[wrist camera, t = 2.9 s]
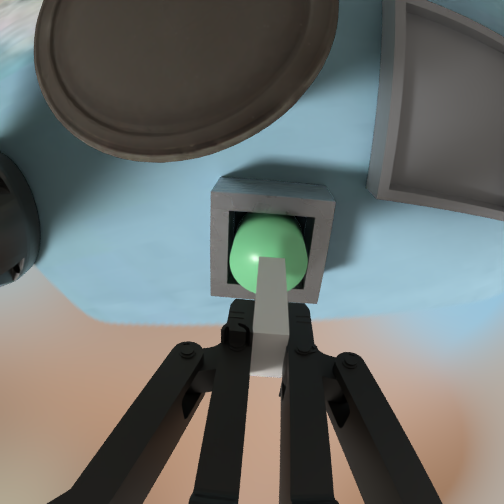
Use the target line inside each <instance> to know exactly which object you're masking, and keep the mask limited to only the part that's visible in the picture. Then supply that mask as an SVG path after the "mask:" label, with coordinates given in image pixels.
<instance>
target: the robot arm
mask: <svg viewBox="0 0 504 504" xmlns="http://www.w3.org/2000/svg"><path fill="white" fill-rule="evenodd" d="M39 246H40V225H39V218H38V213H37V209H36V205H35V202H34V199H33V196H32V193H31V191H30V188H29V186H28V184H27V182H26V180H25V178H24V176H23V175H22V173H21V172H20V170H19V169H18V167H17V166H16V165H15V164H14V163H13V162H12V161H11V160H10V159H9V158H8V157H7V156H6V155H4V154H3V153H1V152H0V287H1V286H4V285H7V284H9V283H12V282H14V281H16V280H18V279H19V278H20V277H21V276H22V275H23V274H25V272H27V271H28V270H29V269H30V268H31V267H32V266H33V264H34V262H35V261H36V258H37V255H38V252H39ZM310 317H311V316H310V310H309V308H308V307H307V306H306V305H305V303H291V302H288V300H287V283H286V267H285V258H273V257H260V256H259V264H258V275H257V286H256V298H255V300H244V299H235V300H234V301H233V302H232V304H231V305H230V310H229V315H228V321H227V323H226V324H225V325H224V326H223V327H222V329H221V343H220V344H218V345H216V346H214V347H210V348H203V349H202V347H201V346H200V345H198V344H197V343H195V342H182V343H179V344H177V345H176V346H175V347H174V348H173V349H172V350H171V352H170V353H169V355H168V356H167V357H166V359H165V360H164V361H163V363H162V364H161V365H160V367H159V368H158V370H157V371H156V372H155V374H154V375H153V376H152V378H151V379H150V380H149V382H148V383H147V385H146V386H145V387H144V389H143V390H142V391H141V393H140V394H139V396H138V397H137V398H136V400H135V401H134V402H133V404H132V405H131V406H130V408H129V409H128V411H127V412H126V413H125V415H124V416H123V417H122V419H121V420H120V422H119V423H118V424H117V426H116V427H115V428H114V430H113V431H112V433H111V434H110V435H109V437H108V438H107V439H106V441H105V442H104V444H103V445H102V446H101V448H100V449H99V450H98V452H97V453H96V455H95V456H94V457H93V459H92V460H91V461H90V463H89V464H88V466H87V467H86V468H85V470H84V471H83V473H82V474H81V476H80V477H79V478H78V479H77V481H76V482H75V484H74V485H73V486H72V488H71V489H70V490H68V491H67V492H65V493H64V494H62V495H60V496H59V497H57V498H55V499H54V500H52V501H50V502H49V503H47V504H143V502H144V500H145V499H146V497H147V495H148V493H149V492H150V490H151V488H152V487H153V485H154V483H155V482H156V480H157V478H158V476H159V475H160V473H161V471H162V469H163V468H164V466H165V464H166V463H167V461H168V459H169V457H170V456H171V454H172V452H173V450H174V449H175V447H176V445H177V443H178V442H179V440H180V438H181V436H182V434H183V433H184V431H185V429H186V427H187V426H188V424H189V422H190V420H191V418H192V417H193V415H194V413H195V411H196V409H197V408H198V406H199V404H200V402H201V400H202V399H203V397H204V395H205V392H211V391H212V394H211V399H210V404H209V410H208V415H207V420H206V426H205V431H204V436H203V442H202V447H201V453H200V459H199V463H198V469H197V474H196V480H195V486H194V490H193V493H192V495H191V497H190V499H189V504H238V499H239V488H240V477H241V467H242V455H243V445H244V434H245V422H246V412H247V401H248V389H249V378H250V375H251V376H262V377H279V378H281V377H282V383H281V388H280V393H279V397H281V439H280V487H279V488H280V489H279V504H339V503H338V501H336V500H335V498H334V492H333V478H332V466H331V454H330V444H329V433H328V424H327V415H326V411H327V413H328V416H329V418H330V420H331V423H332V425H333V427H334V430H335V432H336V435H337V437H338V440H339V442H340V444H341V447H342V449H343V452H344V454H345V457H346V459H347V461H348V464H349V466H350V469H351V471H352V474H353V476H354V478H355V481H356V483H357V486H358V488H359V491H360V493H361V496H362V498H363V500H364V503H365V504H442V502H441V500H440V498H439V496H438V494H437V492H436V490H435V488H434V486H433V484H432V482H431V480H430V479H429V477H428V475H427V473H426V471H425V469H424V467H423V465H422V463H421V461H420V460H419V458H418V456H417V454H416V452H415V450H414V448H413V447H412V445H411V443H410V441H409V439H408V437H407V436H406V434H405V432H404V430H403V428H402V426H401V425H400V423H399V421H398V419H397V418H396V416H395V414H394V412H393V410H392V409H391V407H390V405H389V403H388V402H387V400H386V398H385V396H384V395H383V393H382V391H381V389H380V388H379V386H378V384H377V382H376V381H375V379H374V378H373V376H372V374H371V372H370V370H369V369H368V367H367V365H366V364H365V362H364V360H363V359H362V358H361V357H360V356H359V355H357V354H355V353H351V352H344V353H341V354H339V355H338V356H337V357H332V356H329V355H326V354H323V353H322V352H320V351H319V350H318V348H317V346H316V345H315V344H314V338H313V331H312V324H311V318H310Z"/></svg>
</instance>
